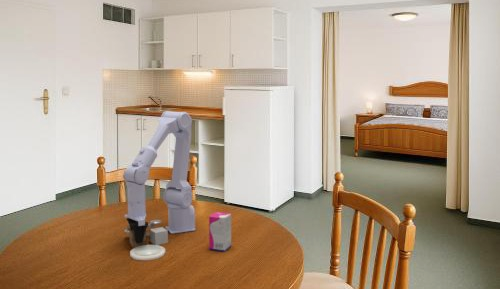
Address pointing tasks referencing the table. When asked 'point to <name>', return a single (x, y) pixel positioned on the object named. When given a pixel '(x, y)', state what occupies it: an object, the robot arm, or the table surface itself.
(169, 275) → the table surface
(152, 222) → the balance
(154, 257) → the dish
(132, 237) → the walnut block
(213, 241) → the supplement box
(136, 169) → the robot arm
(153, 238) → the grey block
